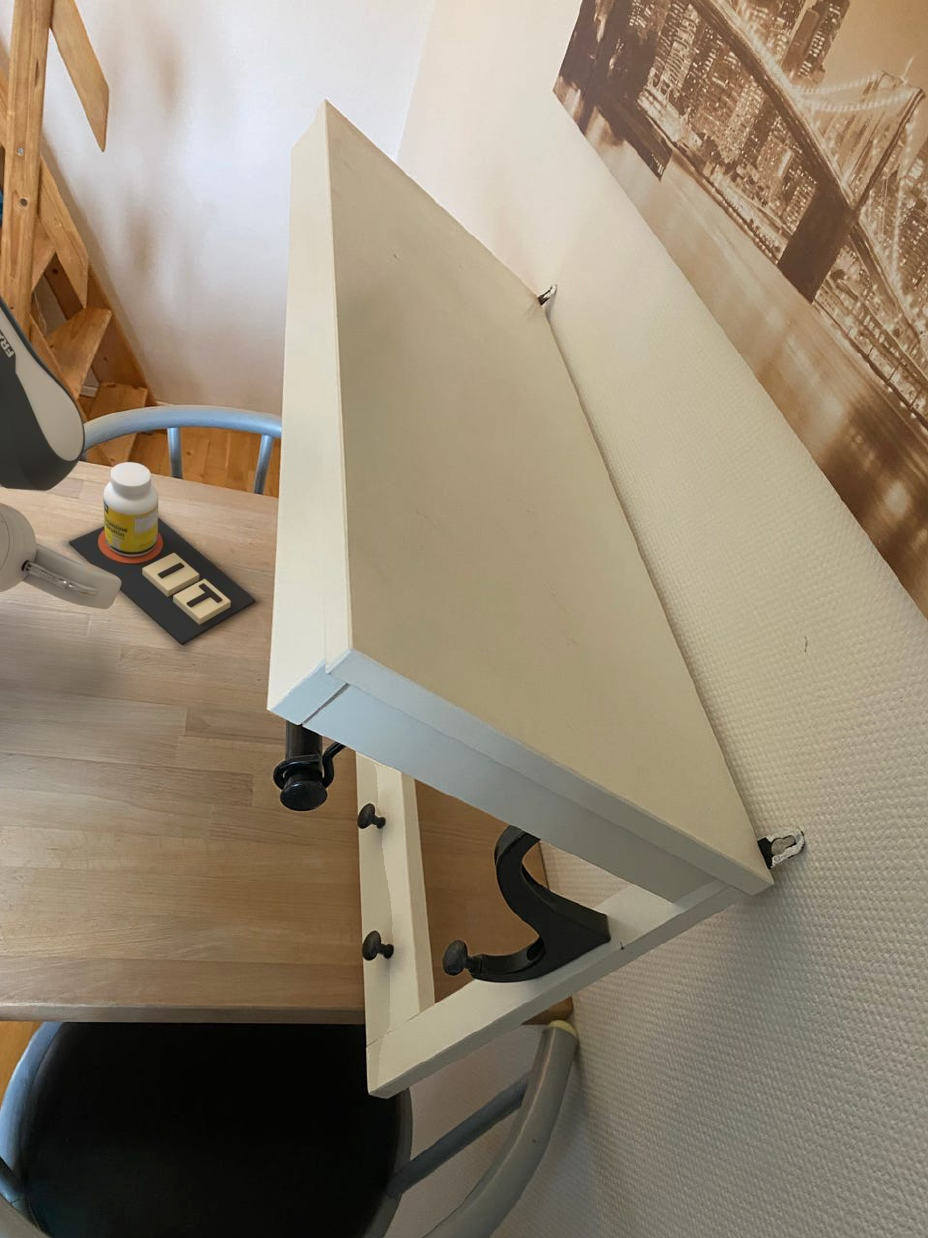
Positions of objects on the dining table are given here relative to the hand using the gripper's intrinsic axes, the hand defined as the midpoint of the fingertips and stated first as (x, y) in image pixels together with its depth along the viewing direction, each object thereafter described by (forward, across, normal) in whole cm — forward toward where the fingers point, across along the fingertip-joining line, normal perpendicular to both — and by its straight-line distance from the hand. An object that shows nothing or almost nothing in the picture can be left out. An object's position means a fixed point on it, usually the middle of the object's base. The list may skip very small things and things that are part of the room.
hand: (59, 560), depth 91 cm
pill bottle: (+18, +2, -4) cm, 18 cm away
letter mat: (+17, -5, -2) cm, 18 cm away
